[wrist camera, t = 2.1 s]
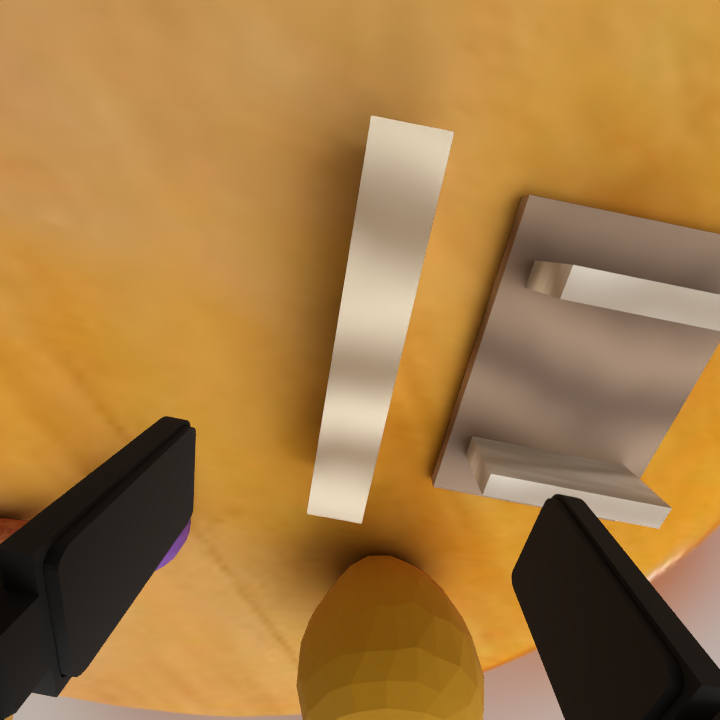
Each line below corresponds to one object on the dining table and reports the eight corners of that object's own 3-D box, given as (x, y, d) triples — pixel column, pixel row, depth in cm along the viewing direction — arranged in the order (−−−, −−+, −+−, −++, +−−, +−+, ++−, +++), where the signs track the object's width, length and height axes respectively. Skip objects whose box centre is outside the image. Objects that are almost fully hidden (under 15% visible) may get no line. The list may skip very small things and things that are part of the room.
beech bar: (372, 146, 19) (371, 115, 14) (435, 159, 19) (454, 131, 14) (319, 465, 26) (306, 513, 22) (364, 473, 26) (361, 523, 22)
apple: (469, 533, 28) (529, 721, 17) (447, 637, 32) (484, 838, 21) (314, 521, 28) (275, 698, 17) (313, 625, 32) (282, 818, 21)
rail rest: (522, 196, 19) (569, 182, 14) (756, 245, 19) (879, 246, 15) (431, 478, 26) (443, 530, 21) (606, 511, 26) (656, 570, 21)
